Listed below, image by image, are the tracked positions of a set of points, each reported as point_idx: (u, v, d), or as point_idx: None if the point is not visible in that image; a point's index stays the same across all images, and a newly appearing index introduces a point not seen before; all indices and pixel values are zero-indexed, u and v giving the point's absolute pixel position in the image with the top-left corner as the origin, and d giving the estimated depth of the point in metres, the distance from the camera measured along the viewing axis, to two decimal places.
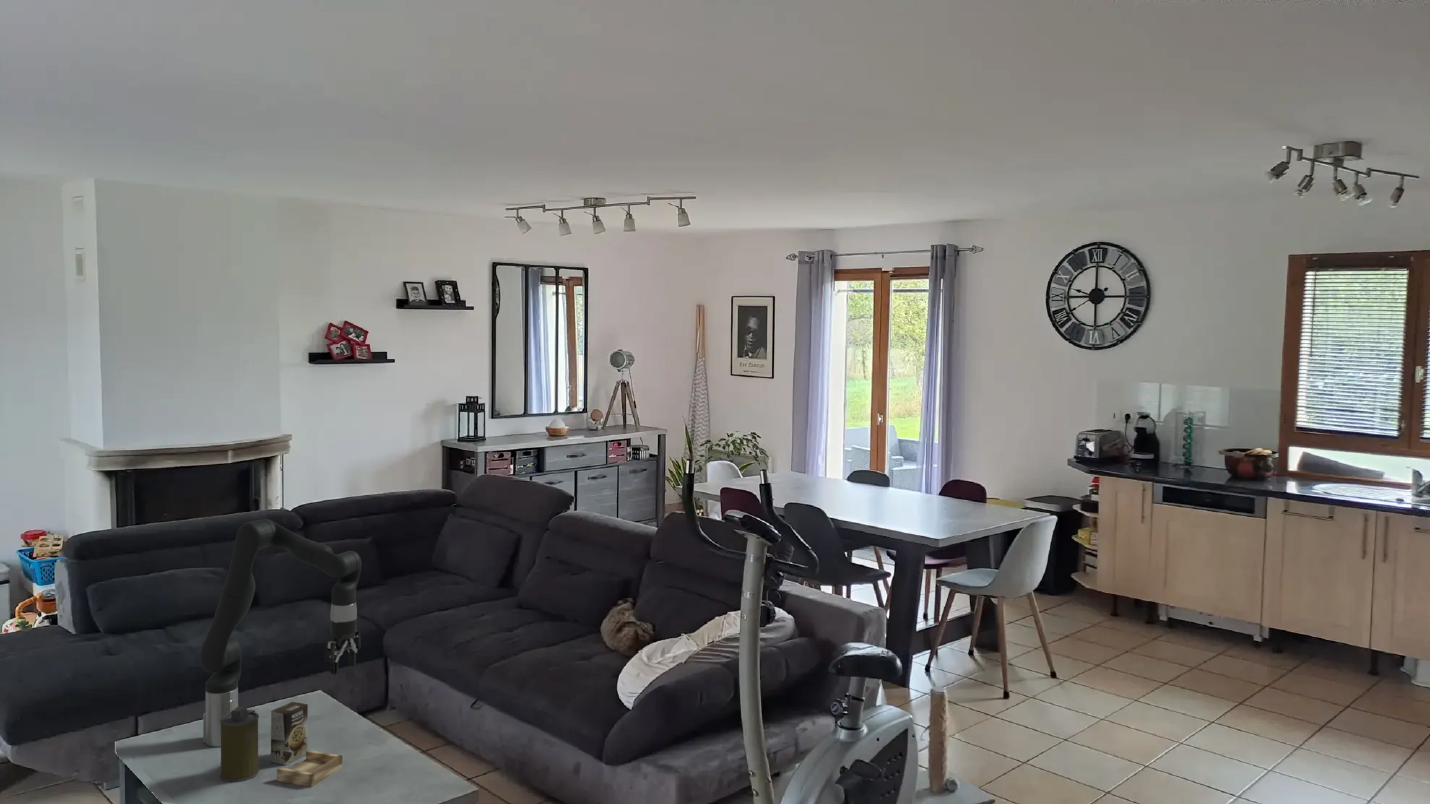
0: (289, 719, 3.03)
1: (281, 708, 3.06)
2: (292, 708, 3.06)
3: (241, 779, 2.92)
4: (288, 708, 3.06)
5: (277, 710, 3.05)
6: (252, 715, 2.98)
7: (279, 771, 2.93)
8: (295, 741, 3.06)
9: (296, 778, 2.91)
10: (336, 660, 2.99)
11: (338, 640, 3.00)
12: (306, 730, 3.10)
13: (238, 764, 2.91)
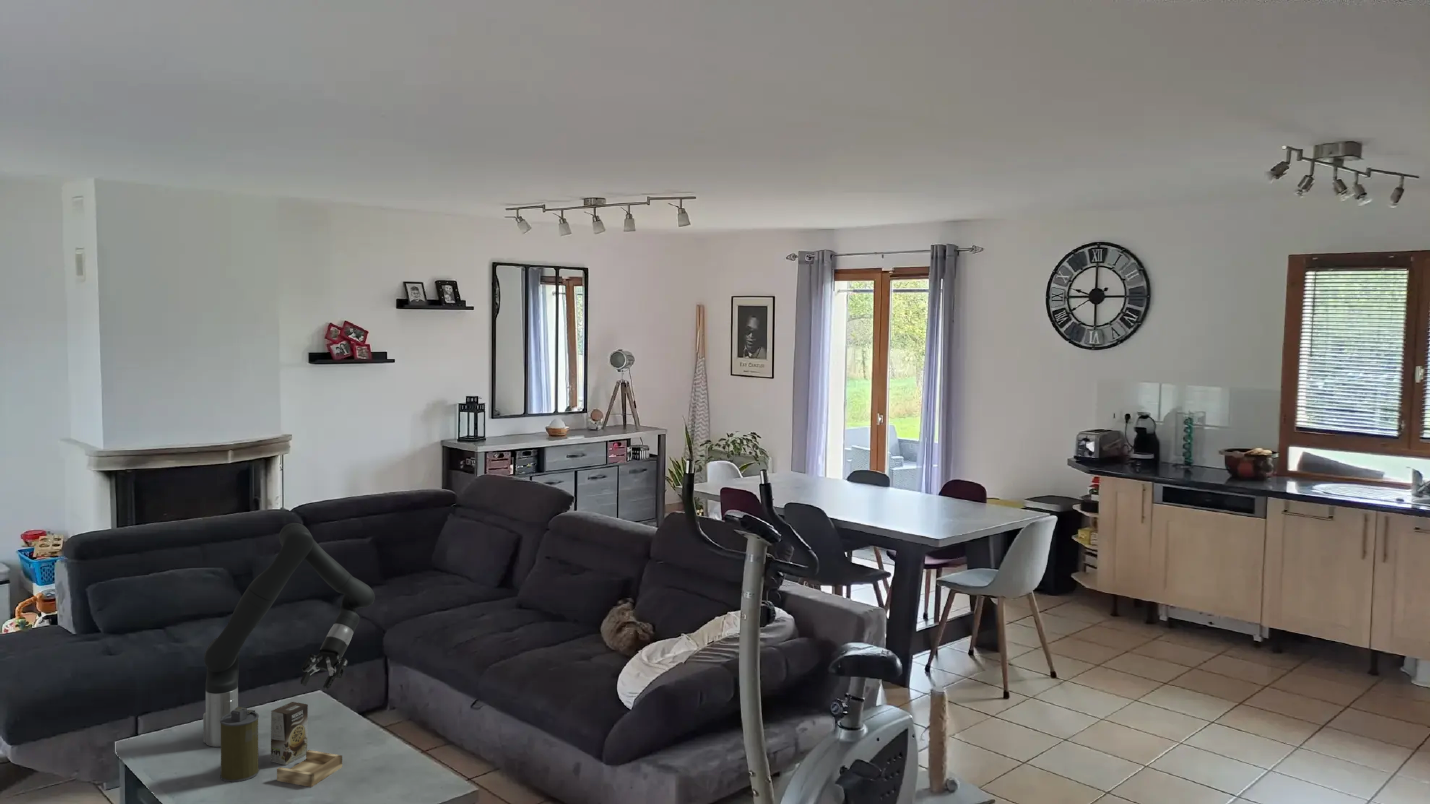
0: (289, 719, 3.03)
1: (281, 708, 3.06)
2: (292, 708, 3.06)
3: (241, 779, 2.92)
4: (288, 708, 3.06)
5: (277, 710, 3.05)
6: (252, 715, 2.98)
7: (279, 771, 2.93)
8: (295, 741, 3.06)
9: (296, 778, 2.91)
10: None
11: None
12: (306, 730, 3.10)
13: (238, 764, 2.91)
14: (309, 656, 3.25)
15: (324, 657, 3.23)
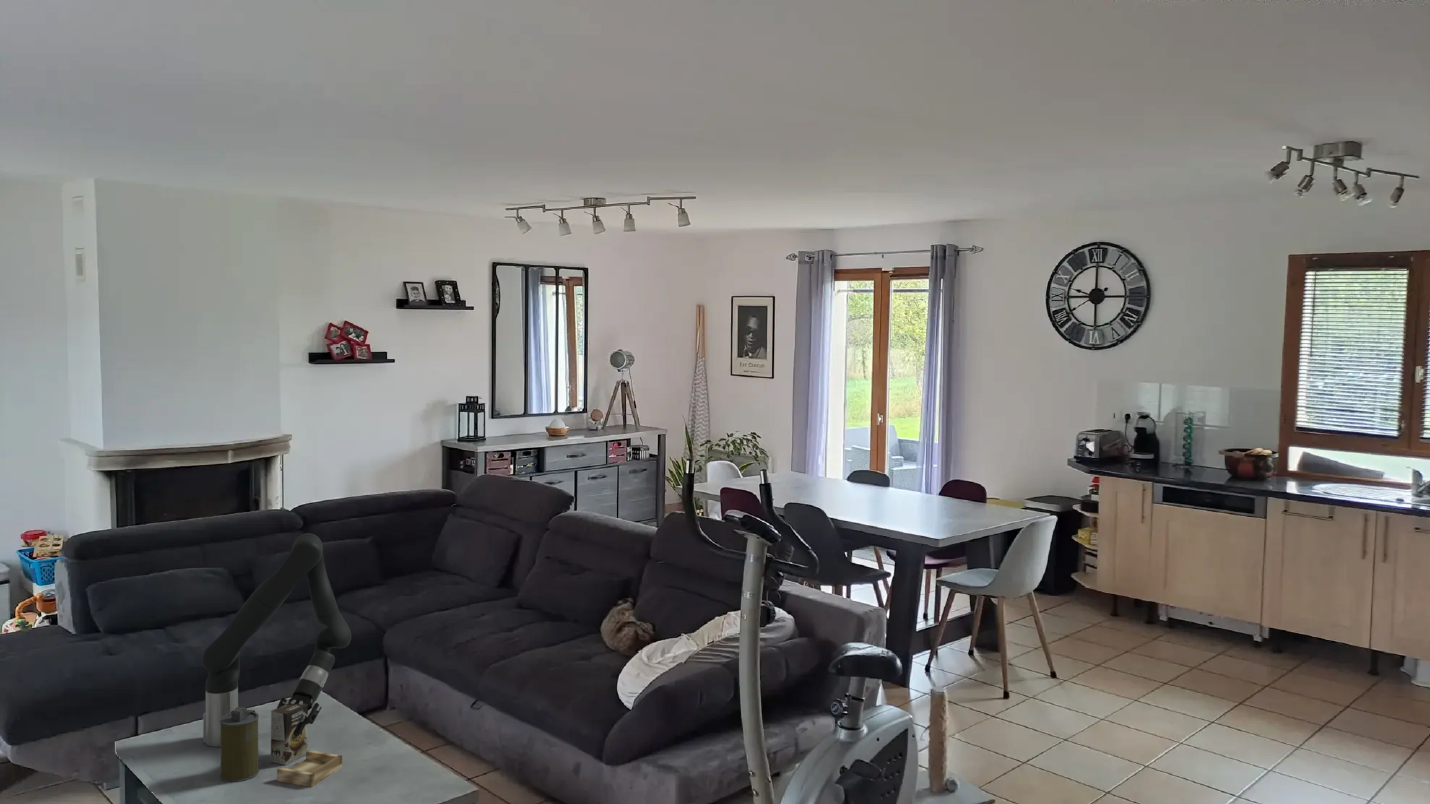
0: (289, 719, 3.03)
1: (281, 708, 3.06)
2: (292, 708, 3.06)
3: (241, 779, 2.92)
4: (288, 708, 3.06)
5: (277, 710, 3.05)
6: (252, 715, 2.98)
7: (279, 771, 2.93)
8: (295, 741, 3.06)
9: (296, 778, 2.91)
10: None
11: None
12: (306, 730, 3.10)
13: (238, 764, 2.91)
14: (281, 701, 3.13)
15: (297, 700, 3.12)
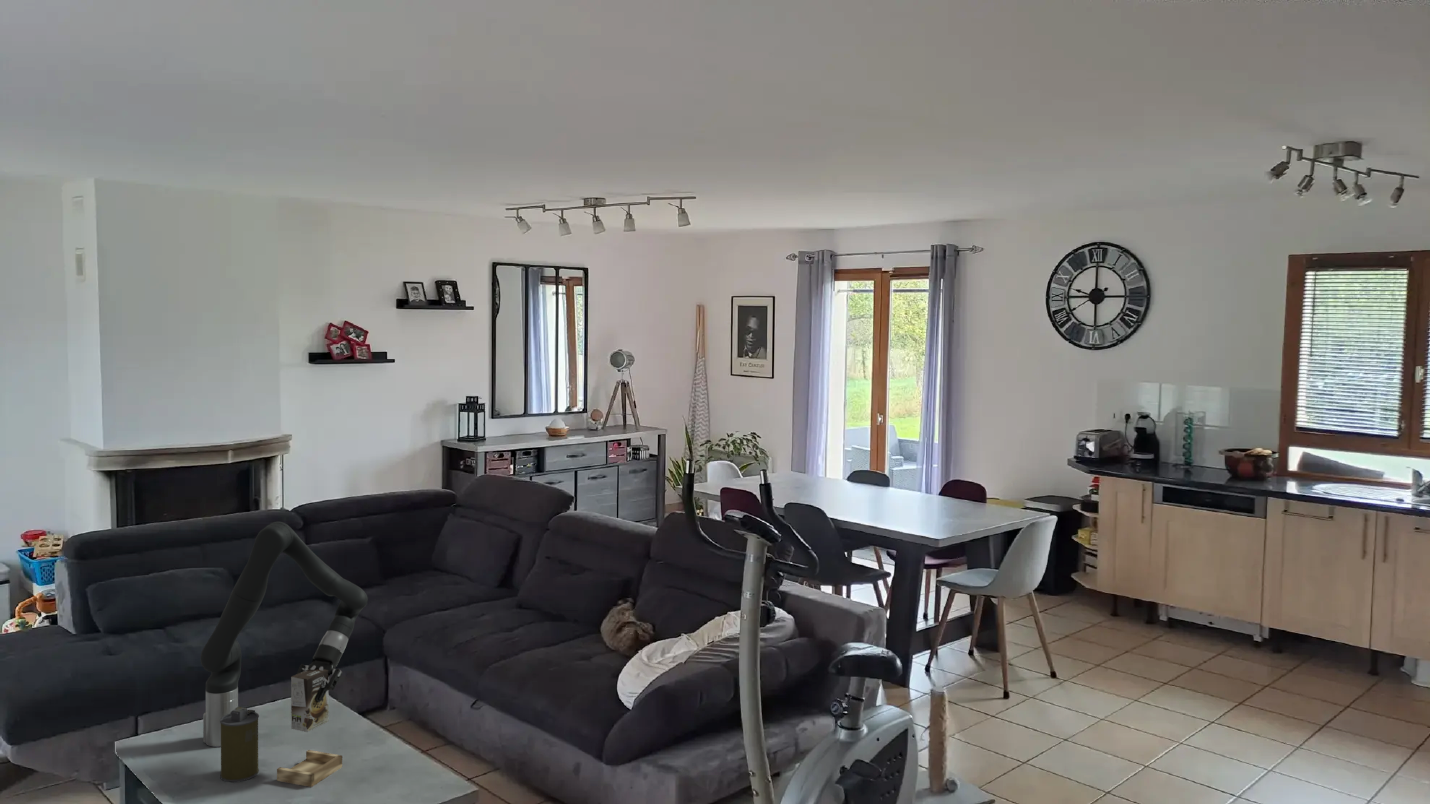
0: (310, 684, 2.94)
1: (301, 674, 2.97)
2: (312, 674, 2.97)
3: (241, 779, 2.92)
4: (309, 674, 2.96)
5: (297, 676, 2.95)
6: (252, 715, 2.98)
7: (279, 771, 2.93)
8: (316, 707, 2.96)
9: (296, 778, 2.91)
10: None
11: None
12: (327, 696, 3.01)
13: (238, 764, 2.91)
14: (301, 667, 3.03)
15: (317, 666, 3.02)
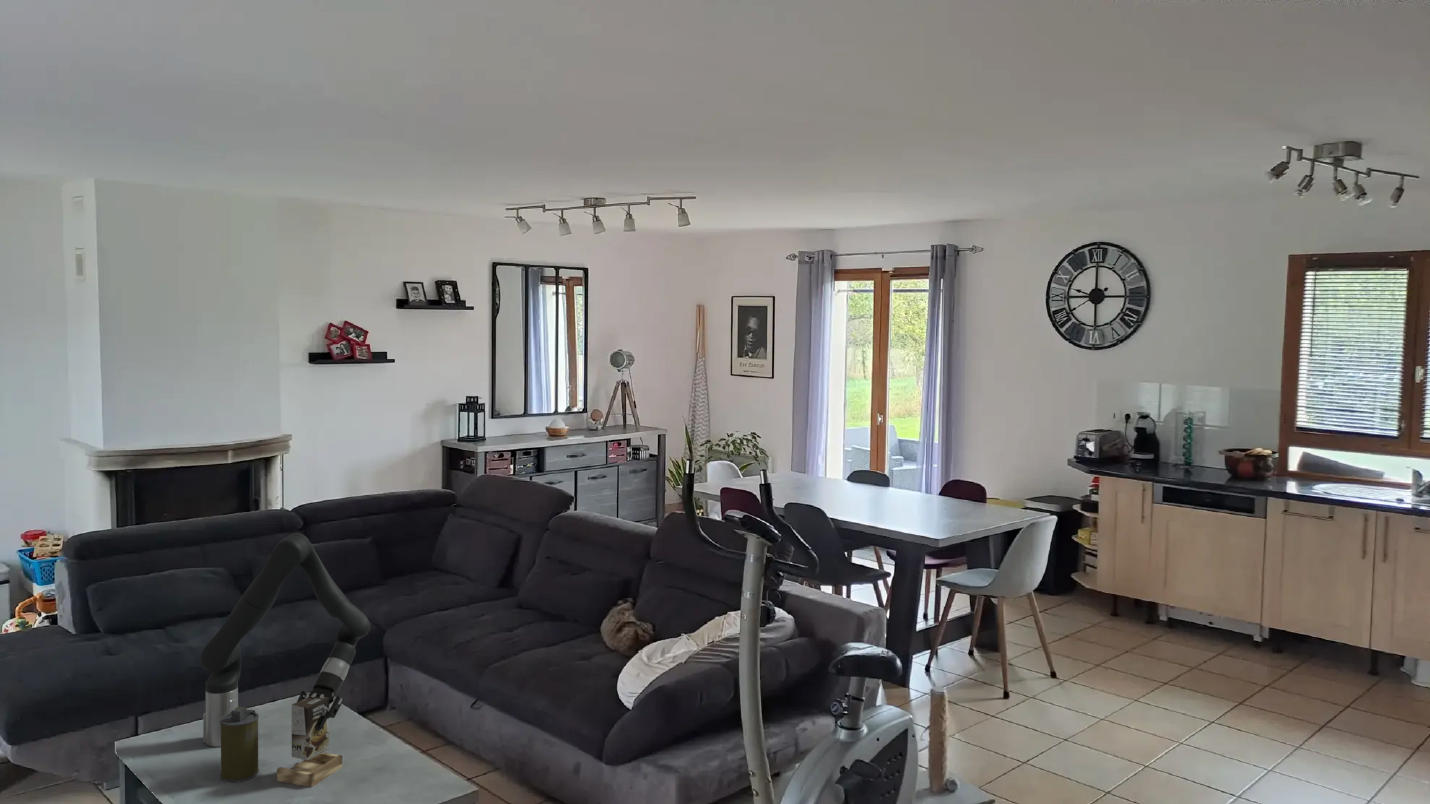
0: (310, 713, 2.93)
1: (302, 702, 2.96)
2: (313, 702, 2.96)
3: (241, 779, 2.92)
4: (309, 702, 2.95)
5: (298, 704, 2.94)
6: (252, 715, 2.98)
7: (279, 771, 2.93)
8: (316, 736, 2.95)
9: (296, 778, 2.91)
10: None
11: None
12: (327, 724, 3.00)
13: (238, 764, 2.91)
14: (301, 694, 3.02)
15: (318, 694, 3.01)
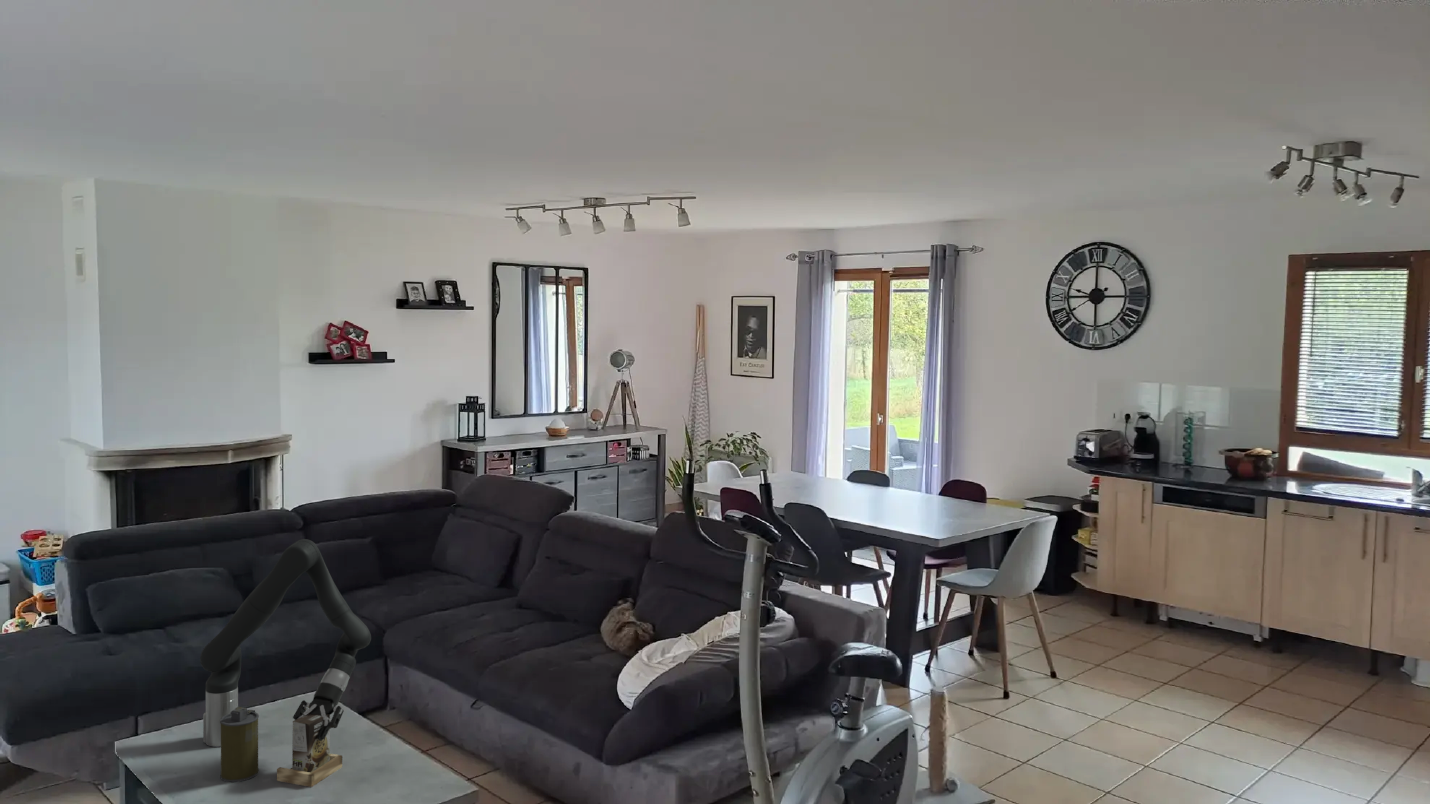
0: (312, 729, 2.93)
1: (303, 718, 2.96)
2: (314, 718, 2.96)
3: (241, 779, 2.92)
4: (310, 718, 2.96)
5: (299, 720, 2.94)
6: (252, 715, 2.98)
7: (279, 771, 2.93)
8: (317, 752, 2.96)
9: (296, 778, 2.91)
10: None
11: None
12: (328, 740, 3.00)
13: (238, 764, 2.91)
14: (302, 704, 3.03)
15: (318, 705, 3.01)
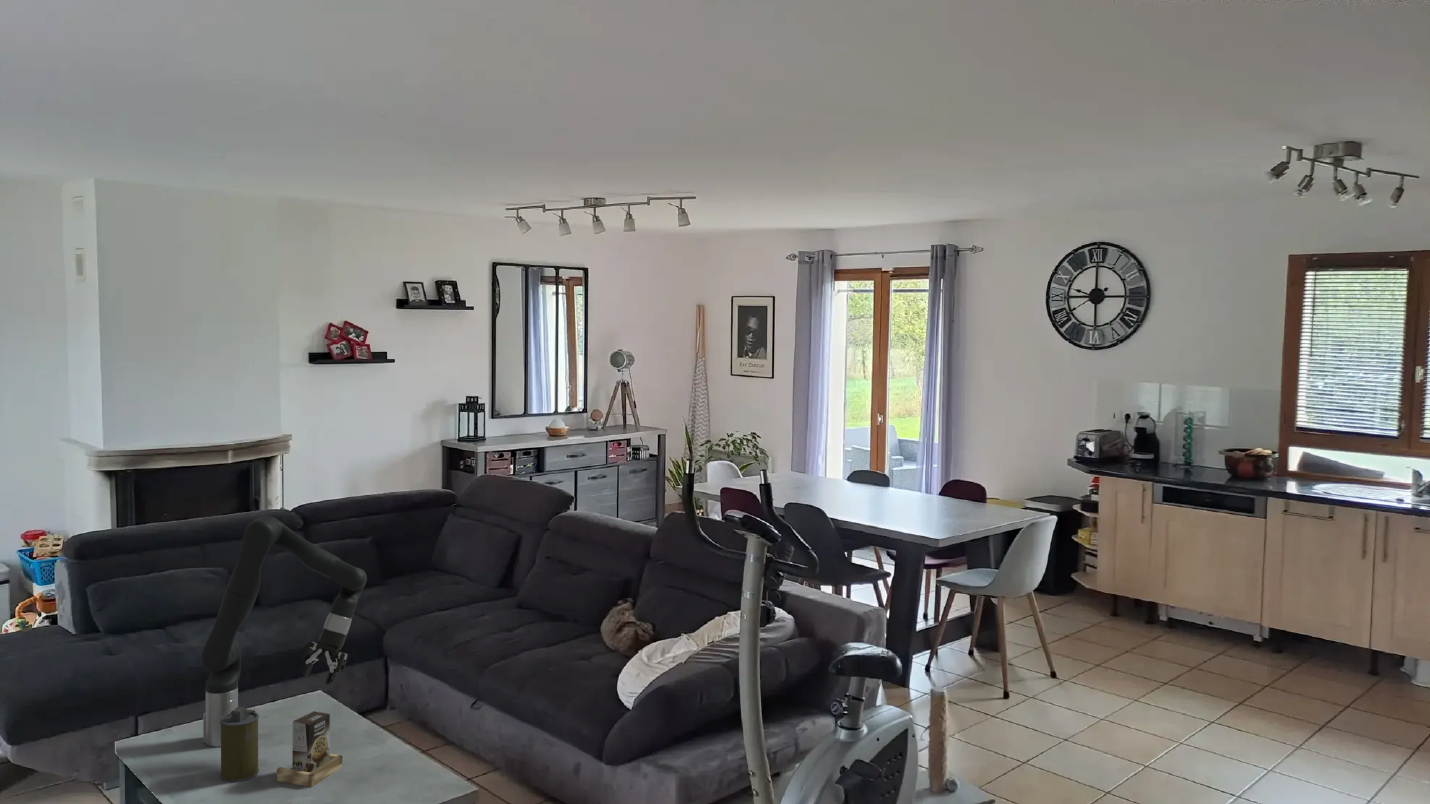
0: (312, 729, 2.93)
1: (303, 718, 2.96)
2: (314, 718, 2.96)
3: (241, 779, 2.92)
4: (310, 718, 2.96)
5: (299, 720, 2.94)
6: (252, 715, 2.98)
7: (279, 771, 2.93)
8: (317, 752, 2.96)
9: (296, 778, 2.91)
10: None
11: None
12: (328, 740, 3.00)
13: (238, 764, 2.91)
14: (309, 645, 3.14)
15: (324, 649, 3.12)
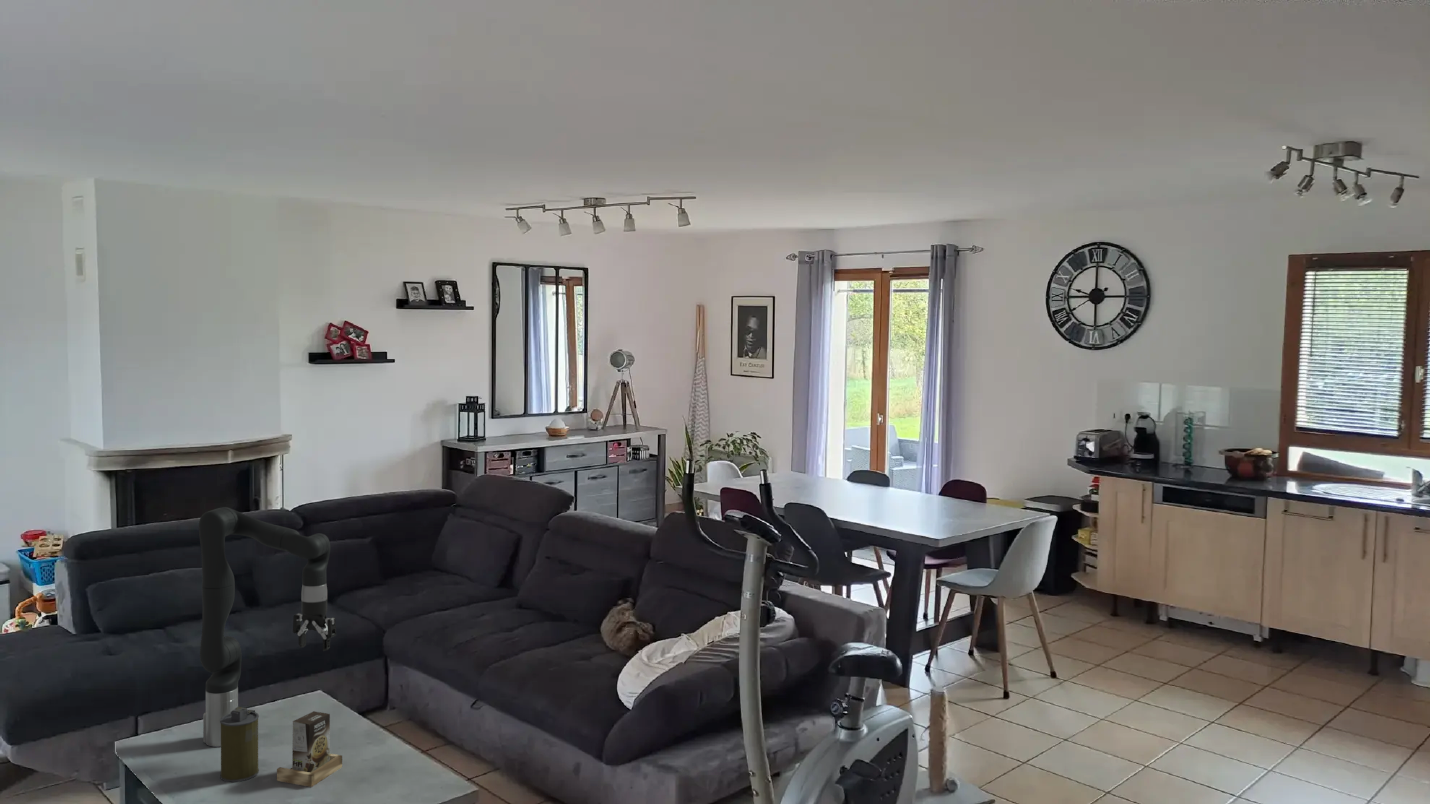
0: (312, 729, 2.93)
1: (303, 718, 2.96)
2: (314, 718, 2.96)
3: (241, 779, 2.92)
4: (310, 718, 2.96)
5: (299, 720, 2.94)
6: (252, 715, 2.98)
7: (279, 771, 2.93)
8: (317, 752, 2.96)
9: (296, 778, 2.91)
10: None
11: None
12: (328, 740, 3.00)
13: (238, 764, 2.91)
14: (295, 618, 3.14)
15: (310, 619, 3.12)
